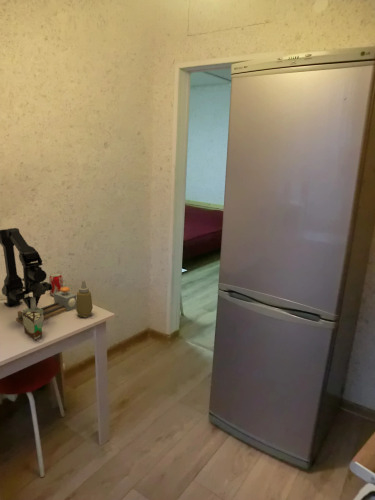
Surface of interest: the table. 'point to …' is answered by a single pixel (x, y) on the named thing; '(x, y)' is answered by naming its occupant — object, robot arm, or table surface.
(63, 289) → the brown rounded piece
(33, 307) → the carriage
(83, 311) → the squeeze bottle
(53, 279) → the soda can
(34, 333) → the food container
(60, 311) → the slide rail
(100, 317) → the table surface
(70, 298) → the cabinet
